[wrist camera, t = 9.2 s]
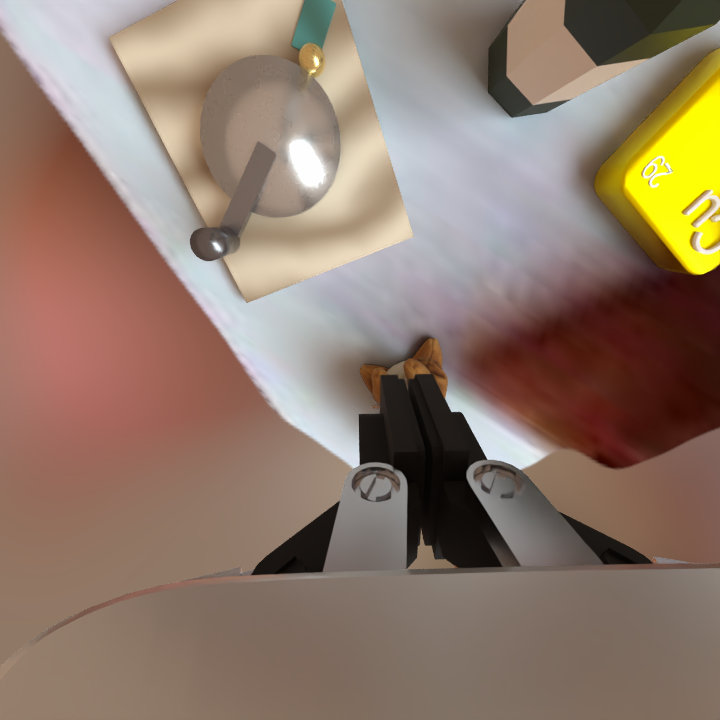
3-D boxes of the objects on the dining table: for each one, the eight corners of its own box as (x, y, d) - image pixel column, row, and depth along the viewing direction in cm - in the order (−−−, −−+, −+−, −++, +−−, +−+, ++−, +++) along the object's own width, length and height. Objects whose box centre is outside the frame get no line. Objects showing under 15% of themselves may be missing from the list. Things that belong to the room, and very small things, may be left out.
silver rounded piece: (255, 1, 28) (227, -59, 22) (379, 99, 31) (385, 70, 24) (169, 216, 34) (129, 217, 28) (279, 282, 37) (264, 296, 30)
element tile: (797, 159, 35) (861, 151, 30) (663, 277, 39) (703, 285, 35) (722, 36, 31) (783, 7, 26) (583, 182, 35) (616, 177, 31)
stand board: (119, 45, 30) (107, 36, 29) (320, -61, 28) (318, -78, 26) (250, 299, 39) (246, 303, 38) (411, 235, 37) (413, 236, 35)
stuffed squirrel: (435, 329, 41) (469, 379, 29) (456, 426, 46) (493, 502, 34) (354, 352, 42) (354, 409, 30) (384, 444, 47) (394, 525, 35)
